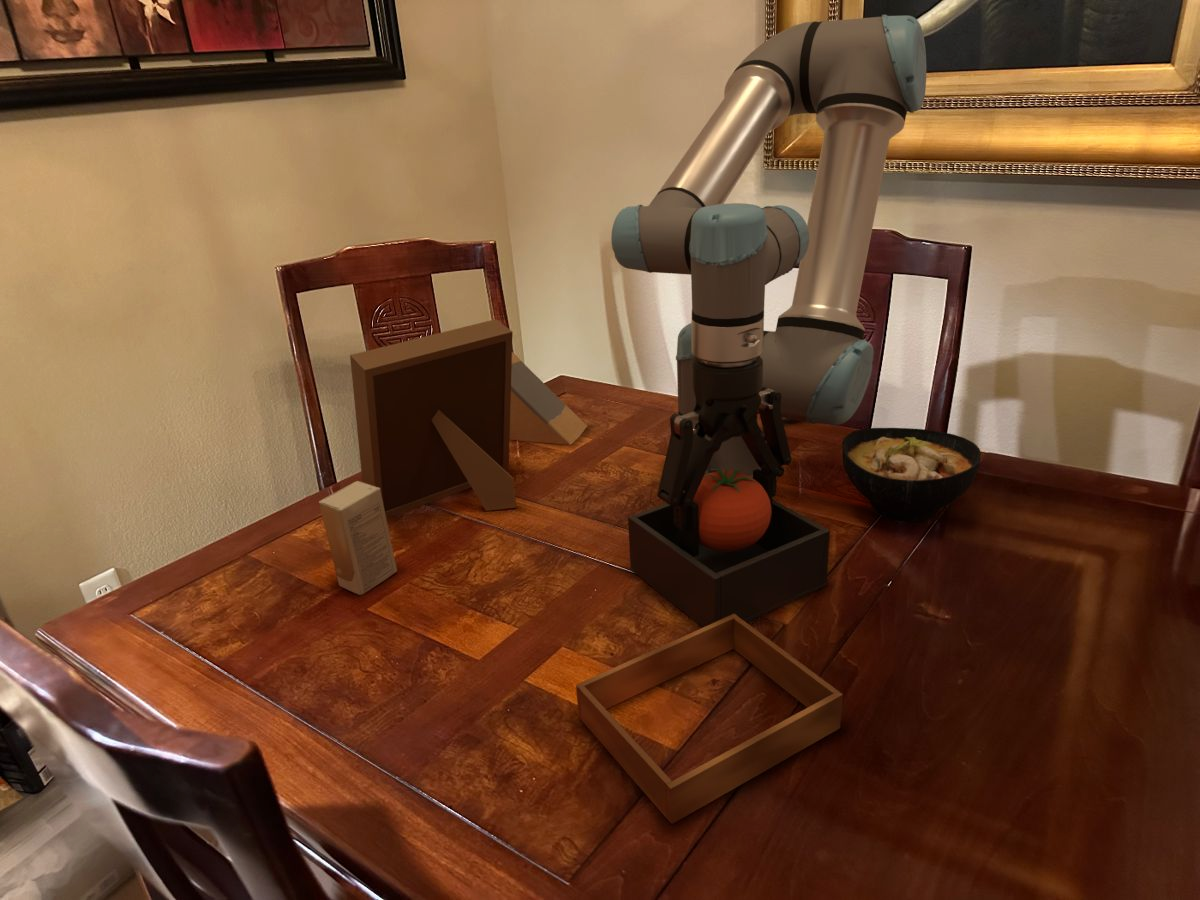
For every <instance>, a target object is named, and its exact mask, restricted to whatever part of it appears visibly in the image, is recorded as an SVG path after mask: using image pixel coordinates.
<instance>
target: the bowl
mask: <svg viewBox="0 0 1200 900" xmlns="http://www.w3.org/2000/svg"><path fill="white" fill-rule="evenodd" d="M841 452H842V453H841V458H842V459H841V460H842V465H843V469H844V471H845V474H846V476H847V477H848V480H849V481H850V483H851V484H852V485H853V487H854V488H855V489H856V491H857V492H858V493H859V494H860V495H861V496H862V497H863V498H865V499H866V500H867V501H868V503H869V505H870V507H871V509H872V510H873V511H874V512H875V513H876V514H877V515H879V516H881V517H882V518H884V519H888V520H890V521H895V522H899V523H923V522H925V521H926V522H927V521H929V520H931V519H933V518H934V517H935V516H936V515H937V514H938V513H939V511H940V510H942V509H943V508H945V507H947V506H949V505H951V504H952V503H954V502H955V501H956V500H957V499H959V498H960V497H961V496H962V495H964V494H965V493H966V492H967V491H968V489H969V488H970V487H971V485H972V484H973V483H974V481H975V479H976V476H977V474H978V471H979V469H980V465H981V459H982V452H981V449H980V448H979V445H977V444H976V443H975V442H973V441H971V440H970V439H968V438H966V437H962V436H959V435H957V434H954V433H948V432H943V431H938V430H931V429H923V428H909V427H867V428H861V429H857V430H853V431H851V432H850V433H848V434H847V435H846V436H845V437H844V438H843V439H842V442H841Z"/></svg>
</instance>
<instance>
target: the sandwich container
mask: <svg viewBox="0 0 1200 900" xmlns="http://www.w3.org/2000/svg"><path fill="white" fill-rule="evenodd" d="M587 427H588V424H586V423H585V422H584V420H582V419H581V418H580V417H579V416H578V415H577V414H576V413H575V412H574V411H573V410H572V409H571V408H570V407H569V406H568V405H567V404H566V403H565V402H564V401H562V400H561V399H560V398H559V397H558V396H557V395H556V393H554V392H553V391H552V390H551V389H550V388H549V387H548V386H547V385H546V383H545V382H543V380H541V378H539V377H538V376H537V375H536V374H535V373H534V372H533V371H532V370H531V369H530V368H529V367H528V366H527V365H526V364H525V363H524V362H523V361H522V360H521V359H520V358H519V356H518V355H516V354H515V352H514V351H512V370H511V406H510V441H519V442H529V443H541V444H542V443H544V444H555V445H566V446H568V445H569V446H572V445H573V443H575V442H576V441H577V440H578V438H579V437H581V436H582V434H583V433H584V431H585V430H586V428H587Z"/></svg>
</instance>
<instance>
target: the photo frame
mask: <svg viewBox="0 0 1200 900" xmlns="http://www.w3.org/2000/svg"><path fill="white" fill-rule="evenodd" d="M513 333H514V332H513V331H512V329H509V328H508V327H507V326H506V325H504V323H502V322H500V320H498V319H496V318H494V319H491V320H487V321H483V322H482V321H481V322H478V323H474V324H470V325H466V326H462V327H459V328H458V327H457V328H454V329H451V330H447V331H442V332H438V333H434V334H430V335H425V336H422V337H418V338H414V339H410V340H406V341H402V342H397V343H393V344H389V345H385V346H382V347H381V346H380V347H377V348H373V349H369V350H365V351H362V352H357V353H352V354H350V355H349V359H350V368H351V369H350V370H351V381H352V388H353V389H352V390H353V398H354V400H353V401H354V410H355V419H356V430H357V431H356V432H357V442H358V450H359V460H360V462H359V463H360V470H361V471H360V472H361V482H363V483H366V484H369V485H372V486H375V487H378V488H380V491H381V496H382V500H383V505H384V510H385V515H386V519H389V518H391V517H392V518H393V517H395V516H397V515H400V514H402V513H405V512H408V511H412V510H414V509H416V508H417V509H418V508H420V507H422V506H424V505H427V504H431V503H432V502H433V503H434V502H436V501H438V500H442V499H443V498H444V499H445V498H446V497H449V496H452V495H455V494H457V493H460V492H464V491H465V490H469V489H472V490H473V492H474V493H475V495H476V497H477V499H478V500H479V502H480V504H481V505H482V507H483V509H484V510H485V511H486V512H490V511H498V510H505V509H506V510H507V509H515V508H517V500H516V491H515V484H514V477H513V476H512V475H511V474H510V442H511V440H510V406H511V370H512V352H513Z"/></svg>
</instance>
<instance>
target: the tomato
mask: <svg viewBox="0 0 1200 900" xmlns="http://www.w3.org/2000/svg"><path fill="white" fill-rule="evenodd" d="M713 470H717V472H713V473H709V474H707V475H704V477H703V479H702V481H701V483H700V486H699V488H698V490H697V492H696V495H695V497H694V499H693V502H695V503H697V504H698V520H699V543H700V544H702V545H703V546H706V547H708V548H710V549H713V550H716V551H720V552H733V551H739V550H742V549H745V548H747V547H749V546H751V545H753V544H754V543H755V542H757V541H758V540H759V539H760V538H761V537H762V536H763V534H764V533H765V532H766V530H767V528H768V526H769V523H770V518H771V504H770V500H769V497H768V494H767V493H766V491H765V490H764V488H763V487H762V485H761V484H760V483H758V482H757V481H756V480H754V479H753V478H751V477H750V476H748V475H746V474H743V473H740V472H739V471H740V470H737V471H728V470H727V469H726V470H725V471H721V469H713Z"/></svg>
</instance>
